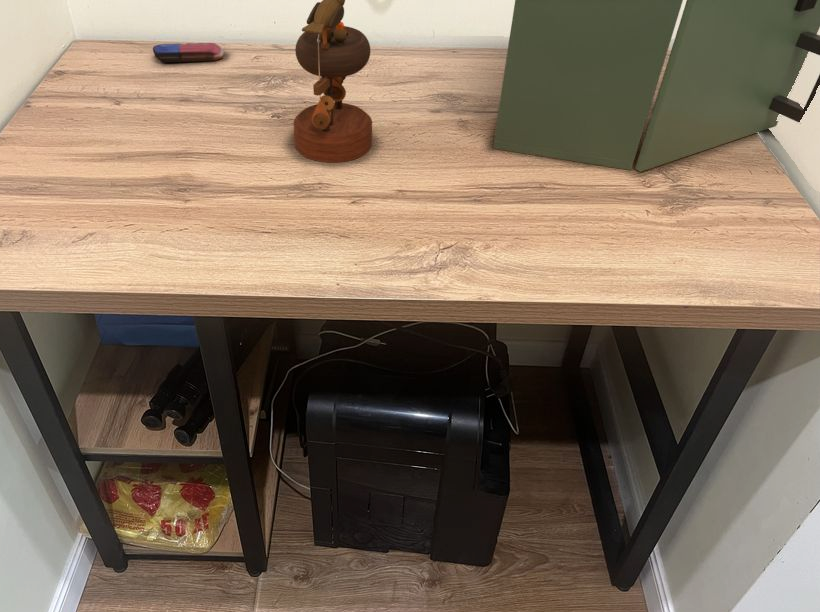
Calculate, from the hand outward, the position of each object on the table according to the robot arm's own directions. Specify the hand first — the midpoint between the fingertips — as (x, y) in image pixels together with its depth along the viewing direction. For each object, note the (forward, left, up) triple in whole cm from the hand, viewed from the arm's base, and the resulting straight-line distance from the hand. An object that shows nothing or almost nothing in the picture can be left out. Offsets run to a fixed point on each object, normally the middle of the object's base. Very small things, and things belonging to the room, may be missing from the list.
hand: (797, 6), depth 87 cm
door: (+3, +7, -17) cm, 19 cm away
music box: (+54, +20, -17) cm, 60 cm away
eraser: (+86, +1, -17) cm, 87 cm away
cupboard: (+24, +2, -17) cm, 29 cm away
